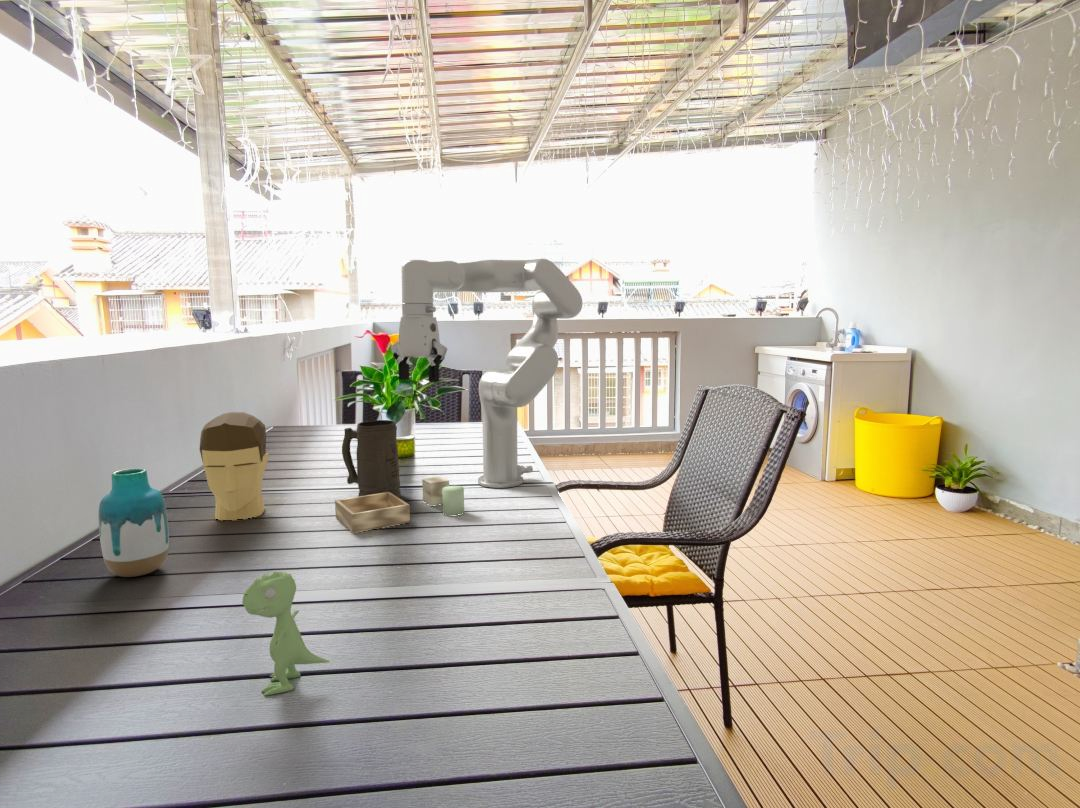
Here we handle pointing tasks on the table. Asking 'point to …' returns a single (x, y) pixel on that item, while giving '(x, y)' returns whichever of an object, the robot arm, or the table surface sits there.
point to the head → (235, 464)
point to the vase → (133, 525)
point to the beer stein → (373, 457)
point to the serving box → (372, 512)
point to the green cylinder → (453, 500)
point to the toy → (280, 627)
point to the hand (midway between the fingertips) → (418, 380)
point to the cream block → (434, 490)
